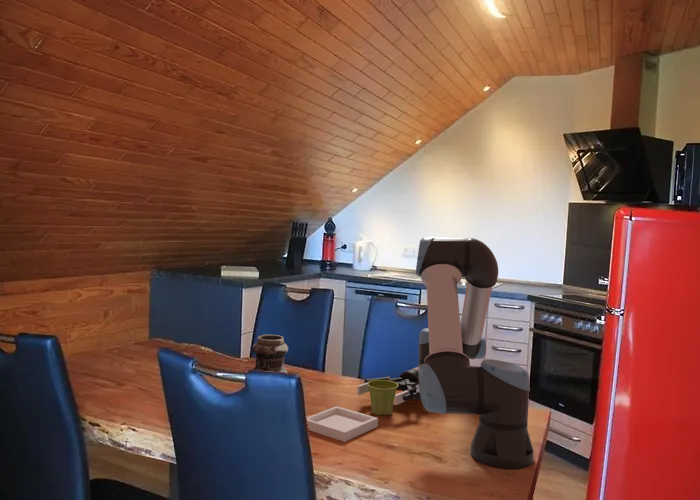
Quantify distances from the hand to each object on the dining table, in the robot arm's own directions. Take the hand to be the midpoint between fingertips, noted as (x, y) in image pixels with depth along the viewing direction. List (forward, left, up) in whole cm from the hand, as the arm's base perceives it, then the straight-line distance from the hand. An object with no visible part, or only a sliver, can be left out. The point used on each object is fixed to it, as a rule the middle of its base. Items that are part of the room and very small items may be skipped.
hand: (376, 395), depth 172 cm
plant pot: (+2, -2, -6) cm, 7 cm away
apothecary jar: (+26, +32, -6) cm, 42 cm away
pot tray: (-10, +12, -6) cm, 16 cm away
